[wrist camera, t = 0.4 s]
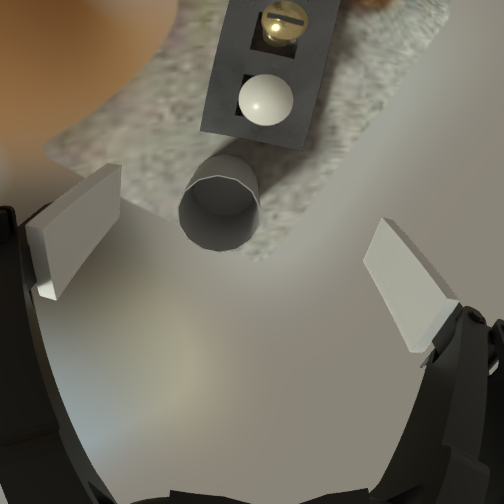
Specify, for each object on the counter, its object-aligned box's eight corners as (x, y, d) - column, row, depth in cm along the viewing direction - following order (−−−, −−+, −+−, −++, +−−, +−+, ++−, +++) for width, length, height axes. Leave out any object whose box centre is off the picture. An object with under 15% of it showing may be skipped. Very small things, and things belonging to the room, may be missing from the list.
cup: (264, 163, 37) (270, 187, 28) (248, 220, 41) (249, 259, 32) (199, 148, 35) (183, 167, 27) (187, 207, 39) (171, 242, 31)
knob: (245, 75, 28) (244, 69, 21) (286, 84, 29) (298, 81, 22) (236, 113, 30) (233, 119, 24) (277, 122, 31) (286, 130, 24)
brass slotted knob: (262, 15, 24) (267, -5, 18) (298, 23, 25) (312, 6, 18) (255, 45, 26) (257, 32, 20) (291, 54, 27) (303, 43, 20)
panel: (248, -50, 21) (248, -60, 19) (341, -28, 23) (348, -35, 20) (203, 127, 34) (199, 130, 31) (298, 147, 36) (302, 151, 33)
